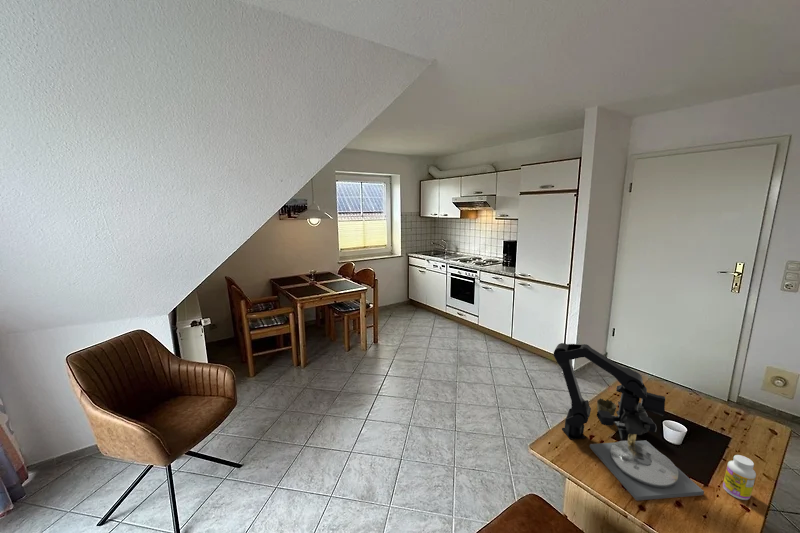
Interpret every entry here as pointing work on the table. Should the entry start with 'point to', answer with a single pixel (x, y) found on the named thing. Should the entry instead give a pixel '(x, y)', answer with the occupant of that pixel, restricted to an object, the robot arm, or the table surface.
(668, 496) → the plate
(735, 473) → the supplement bottle
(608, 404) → the cup
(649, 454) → the grey round piece
